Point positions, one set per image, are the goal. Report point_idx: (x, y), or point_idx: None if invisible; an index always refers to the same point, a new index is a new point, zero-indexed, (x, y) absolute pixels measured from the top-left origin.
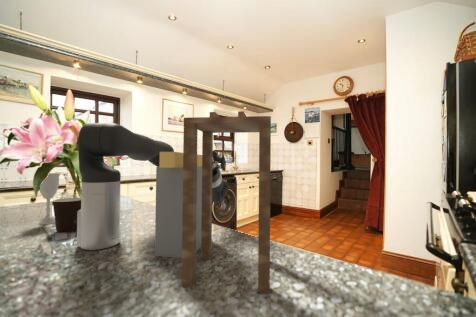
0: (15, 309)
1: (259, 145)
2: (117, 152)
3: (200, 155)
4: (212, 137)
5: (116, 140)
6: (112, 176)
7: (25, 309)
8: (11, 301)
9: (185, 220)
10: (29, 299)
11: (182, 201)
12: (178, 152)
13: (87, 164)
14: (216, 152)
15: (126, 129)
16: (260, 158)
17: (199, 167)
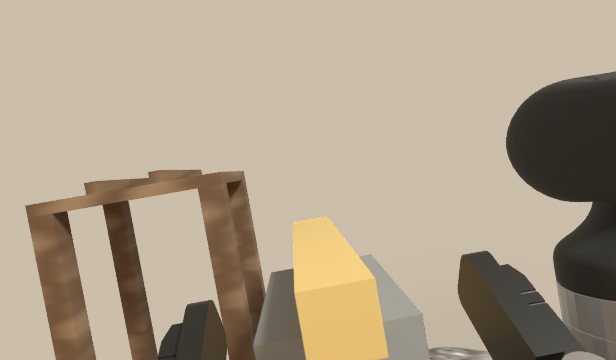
0: (438, 349)
1: (134, 234)
2: (540, 190)
3: (294, 282)
4: (201, 202)
5: (510, 155)
6: (556, 266)
7: (429, 351)
8: (461, 350)
9: None
10: (448, 356)
11: None
12: (293, 225)
13: (589, 213)
14: (172, 330)
15: (568, 93)
16: (136, 253)
17: (266, 296)
